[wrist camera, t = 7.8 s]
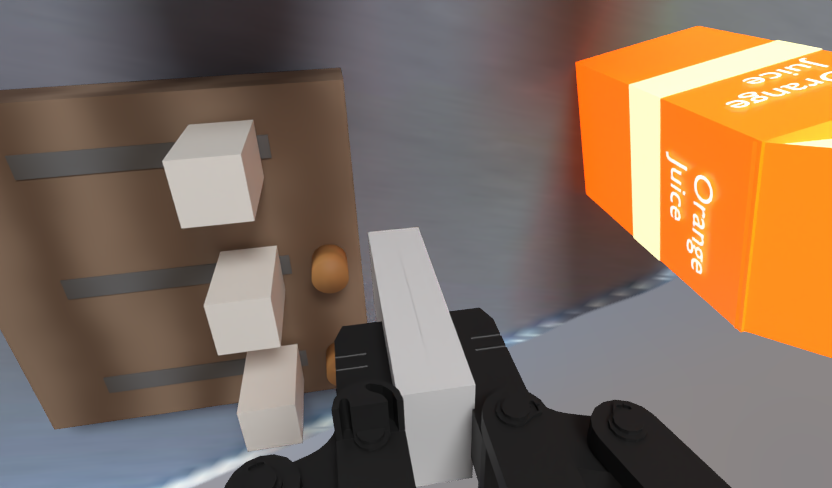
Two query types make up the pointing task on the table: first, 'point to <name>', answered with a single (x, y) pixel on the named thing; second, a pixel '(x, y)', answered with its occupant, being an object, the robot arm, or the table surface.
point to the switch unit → (165, 239)
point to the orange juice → (721, 170)
